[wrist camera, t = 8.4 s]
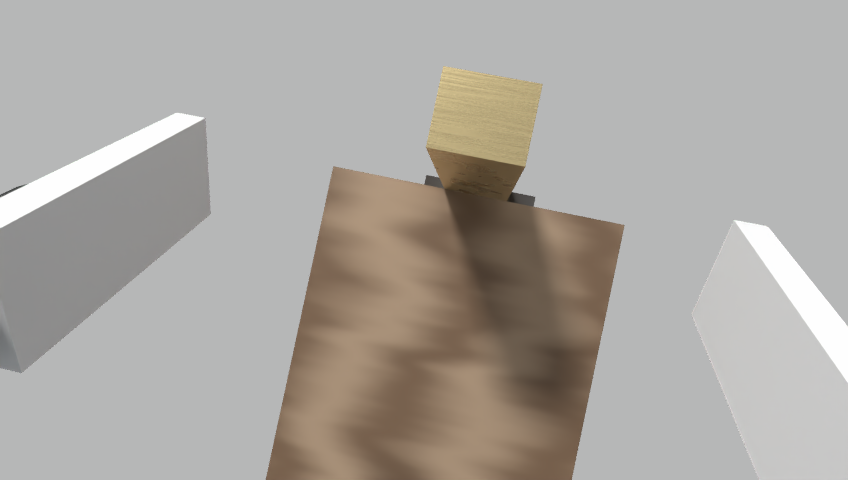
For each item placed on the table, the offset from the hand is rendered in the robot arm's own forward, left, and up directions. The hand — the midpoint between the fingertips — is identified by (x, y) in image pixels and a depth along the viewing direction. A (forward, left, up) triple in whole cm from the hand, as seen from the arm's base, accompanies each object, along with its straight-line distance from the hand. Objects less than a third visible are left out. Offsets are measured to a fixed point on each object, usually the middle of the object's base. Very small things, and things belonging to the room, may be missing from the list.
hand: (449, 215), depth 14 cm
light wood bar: (0, -16, +2) cm, 16 cm away
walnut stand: (0, -20, -34) cm, 40 cm away
